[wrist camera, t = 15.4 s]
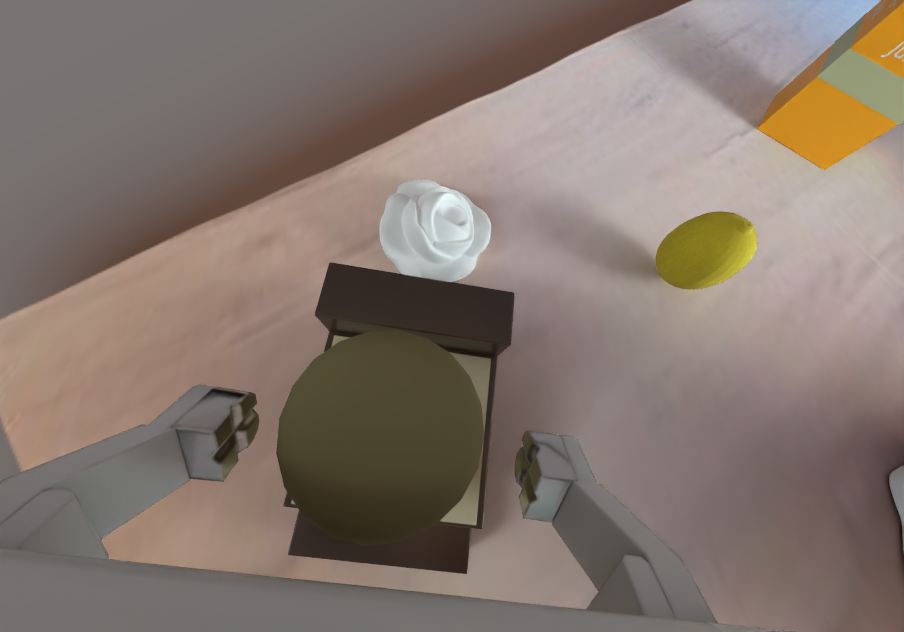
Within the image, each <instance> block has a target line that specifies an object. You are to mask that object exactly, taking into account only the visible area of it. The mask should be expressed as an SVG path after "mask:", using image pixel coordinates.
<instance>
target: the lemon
mask: <svg viewBox="0 0 904 632" xmlns="http://www.w3.org/2000/svg"><path fill="white" fill-rule="evenodd" d="M756 247H757V234H756V231H755V229H754V227H753V225H752V223H751V222H750V221H748V220H747V219H745V218H743V217H742V216H740V215H737V214H734V213H729V212H711V213H706V214H703V215H700V216H698V217H695V218H693V219H690V220H688V221H686V222H684V223H683V224H681V225H680V226H678V227H677V228H676V229H674V230H673V231H672V232H671V233H669V234H668V235H667V236H666V237H665V238H664V240H663V241H662V243H661V244H660V246H659V248H658V250H657V254H656V267H657V270H658V272H659V274H660V276H661V277H662V278H663V279H664V280H665V281H666V282H668V283H669V284H671V285H673V286H675V287H679V288H682V289H702V288H706V287H710V286H713V285H716V284H719V283H721V282H723V281H725V280H727V279H728V278H730V277H732V276H733V275H735V274H736V273H737V272H739V271H740V270H741V269H743V268H744V267H745V266H746V265H747V264H748V262H749V261H750V260H751V258H752V257H753V255H754V254H755V251H756Z"/></svg>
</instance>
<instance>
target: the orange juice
mask: <svg viewBox="0 0 904 632" xmlns="http://www.w3.org/2000/svg"><path fill="white" fill-rule="evenodd" d="M903 122H904V0H881V1H880V2H879V3H878V4H877V5H876V6H875V7H874V8H872V9H871V10H870V11H869V12H868V13H866V14H865V15H864V16H863V17H862V18H861V19H860V20H858V21H857V22H856V23H855V24H854V25H853V26H852V27H851V28H850V29H849V30H847V31H846V32H845V33H844V34H843V35H842V36H841V37H840V38H839V39H837V40H836V41H835V43H834V44H833V45H832V46H830V47H829V48H828V49H827V50H826V51H825V52H824V53H823V54H822V55H820V56H819V57H818V58H817V59H816V60H815V61H814V62H813V63H812V64H811V65H809V66H808V67H807V68H806V69H805V70H804V71H803V72H802V73H801V74H799V75H798V76H797V77H796V78H795V79H794V80H793V81H792V82H791V83H790V84H788V85H787V86H786V87H785V88H784V89H783V90H782V91H781V92H780V93H778V94H777V95H776V97H775V98H774V100H773V102H772V104H771V105H770V107H769V109H768V110H767V112H766V114H765V116H764V117H763V119H762V121H761V123H760V124H759V126H758V128H757V129H759V130H760V131H762V132H763V133H765V134H767V135H768V136H770V137H772V138H773V139H775V140H777V141H778V142H780V143H781V144H783V145H785V146H786V147H788V148H790V149H791V150H793V151H794V152H796V153H798V154H799V155H801V156H803V157H804V158H806V159H807V160H809V161H811V162H812V163H814V164H816V165H817V166H819V167H821V168H822V169H824V170H825V169H827V168H829V167H830V166H832V165H833V164H835V163H837V162H838V161H840V160H842V159H843V158H845V157H846V156H848V155H850V154H851V153H853V152H855V151H856V150H858V149H859V148H861V147H863V146H864V145H866V144H867V143H869V142H871V141H872V140H874V139H876V138H877V137H879V136H880V135H882V134H884V133H885V132H887V131H889V130H890V129H892V128H893V127H895V126H897V125H898V124H901V123H903Z"/></svg>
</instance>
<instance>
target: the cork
mask: <svg viewBox="0 0 904 632" xmlns="http://www.w3.org/2000/svg"><path fill="white" fill-rule="evenodd" d="M483 441H484V426H483V415H482V404H481V402H480V399H479V397H478V395H477V392H476V390H475V387H474V385H473V382H472V380H471V378H470V376H469V375H468V373H467V372H466V371H465V370H464V368H463V367H462V366H461V365H460V364H459V362H458V361H457V360H456V359H455V358H454V356H453V355H452V354H451V353H449V352H448V351H446V350H445V349H443V348H441V347H440V346H438V345H437V344H435V343H434V342H432V341H431V340H429V339H427V338H425V337H421V336H418V335H414V334H410V333H407V332H403V331H399V330H392V331H369V332H366V333H363V334H360V335H357V336H354V337H351V338H348V339H345V340H342V341H340V342H338V343H337V344H335V345H334V346H332V347H331V348H330V349H328V350H327V351H325V352H324V353H323V354H321V355H320V356H318V357H317V358H315V359H314V360H313V361H312V362H311V364H310V365H309V366H308V367H307V369H306V370H305V371H304V372H303V374H302V375H301V376H300V377H299V379H298V380H297V381H296V382H295V384H294V385H293V387H292V389H291V391H290V394H289V396H288V399H287V401H286V404H285V406H284V408H283V411H282V413H281V416H280V419H279V430H278V441H277V452H276V453H277V457H278V462H279V466H280V470H281V475H282V479H283V483H284V487H285V489H286V490H287V492H288V494H289V495H290V497H291V498H292V500H293V501H294V503H295V504H296V506H297V507H298V509H299V511H300V512H301V514H302V515H303V517H304V518H306V519H307V520H309V521H310V522H311V523H313V524H314V525H316V526H317V527H318V528H320V529H321V530H322V531H324V532H325V533H327V534H328V535H329V536H331V537H332V538H336V539H340V540H344V541H348V542H352V543H356V544H360V545H364V546H373V545H381V544H390V543H398V542H403V541H405V540H407V539H409V538H411V537H413V536H415V535H417V534H420V533H422V532H424V531H426V530H428V529H430V528H432V527H434V526H435V525H436V524H437V523H438V522H439V521H440V520H441V519H442V518H443V517H444V516H445V515H446V514H447V513H448V512H449V511H450V510H451V509H452V508H453V507H454V506H455V505H456V504H458V503H459V502H460V501H461V499H462V498H463V496H464V494H465V492H466V490H467V488H468V486H469V485H470V483H471V481H472V479H473V477H474V475H475V473H476V471H477V470H478V466H479V461H480V456H481V451H482V446H483Z"/></svg>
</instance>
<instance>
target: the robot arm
mask: <svg viewBox="0 0 904 632" xmlns="http://www.w3.org/2000/svg"><path fill="white" fill-rule="evenodd" d="M256 404H257V401H256V395H255V394H254V393H252V392H246V391H240V390H234V389H227V388H221V387H213V386H207V385H201V384H199V385H196V386H193V387H192V388H191V389H190V390H188V391H187V392H186V393H185V394H184V395H183V396H181V397H180V398H179V399H178V400H177V401H176V402H174V403H173V404H172V405H171V406H170V407H169V408H167V409H166V410H165V411H164V412H163V413H162V414H160V415H159V416H158V417H157V418H156V419H155V420H153V421H152V422H151V423H150V424H149V425H139V426H137V427H134V428H132V429H129V430H127V431H124V432H122V433H119V434H117V435H114V436H112V437H109V438H107V439H104V440H102V441H99V442H97V443H94V444H92V445H89V446H87V447H84V448H81V449H79V450H76V451H74V452H71V453H69V454H66V455H64V456H61V457H59V458H56V459H54V460H51V461H49V462H46V463H44V464H41V465H39V466H36V467H34V468H31V469H29V470H26V471H24V472H21V473H19V474H16V475H14V476H11V477H9V478H6V479H4V480H2V481H1V482H0V632H794V631H785V630H775V629H766V628H756V627H747V626H737V625H728V624H718V622H717V620H716V619H715V617H714V615H713V613H712V611H711V610H710V608H709V606H708V604H707V602H706V601H705V599H704V597H703V595H702V594H701V592H700V590H699V588H698V586H697V585H696V583H695V581H694V579H693V578H692V576H691V574H690V572H689V570H688V569H687V567H686V565H685V563H684V561H683V560H682V559H681V558H680V557H679V556H678V555H677V554H676V553H675V552H673V551H672V550H671V549H670V548H669V547H668V546H667V545H666V544H665V543H664V542H663V541H662V540H661V539H660V538H659V537H657V536H656V535H655V534H654V533H653V532H652V531H651V530H650V529H649V528H648V527H647V526H646V525H645V524H644V523H642V522H641V521H640V520H639V519H638V518H637V517H636V516H635V515H634V514H633V513H632V512H631V511H630V510H629V509H628V508H626V507H625V506H624V505H623V504H622V503H621V502H620V501H619V500H618V499H617V498H616V497H615V496H614V495H613V494H611V493H610V492H609V491H608V490H607V489H606V488H605V487H604V486H603V485H601V484H597V483H596V480H595V478H594V476H593V474H592V471H591V469H590V467H589V464H588V462H587V460H586V458H585V455H584V453H583V451H582V448H581V446H580V444H579V442H578V439H577V438H576V437H574V436H566V435H557V434H550V433H542V432H534V431H526V432H525V433H524V436H523V438H522V442H523V447H522V448H520V449H519V450H518V452H517V455H516V460H515V477H516V482H517V483H518V485H519V486H520V487H521V488H522V490H521V492H520V495H519V499H520V504H521V509H522V515H523V518H524V519H531V520H537V521H544V522H551V523H552V525H553V527H554V528H555V530H556V531H557V533H558V534H559V535H560V537H561V538H562V540H563V541H564V543H565V544H566V545H567V547H568V548H569V550H570V551H571V553H572V554H573V555H574V557H575V558H576V560H577V561H578V563H579V564H580V565H581V567H582V568H583V570H584V571H585V573H586V574H587V575H588V577H589V578H590V580H591V581H592V583H593V584H594V585H595V587H596V588H597V590H598V591H599V592H598V593H597V595H596V596H595V597H594V599H593V600H592V602H591V603H590V605H589V606H588V608H587V609H586V610H585V609H576V608H566V607H557V606H547V605H538V604H528V603H518V602H509V601H500V600H490V599H481V598H471V597H462V596H453V595H443V594H434V593H424V592H415V591H406V590H396V589H387V588H377V587H368V586H358V585H349V584H339V583H330V582H320V581H311V580H301V579H292V578H282V577H273V576H263V575H254V574H244V573H235V572H225V571H216V570H206V569H197V568H187V567H178V566H168V565H159V564H149V563H140V562H130V561H121V560H111V559H109V554H108V552H107V550H106V548H105V547H104V545H103V543H102V541H101V539H102V538H103V537H105V536H107V535H108V534H110V533H111V532H113V531H114V530H116V529H117V528H119V527H120V526H122V525H123V524H125V523H126V522H128V521H129V520H131V519H132V518H134V517H135V516H137V515H138V514H140V513H141V512H143V511H144V510H146V509H147V508H149V507H150V506H152V505H153V504H155V503H156V502H158V501H159V500H161V499H162V498H164V497H166V496H167V495H169V494H170V493H172V492H173V491H175V490H176V489H178V488H179V487H181V486H182V485H184V484H185V483H187V482H188V481H190V479H199V480H210V481H221V482H223V481H224V480H225V479H226V477H227V476H228V474H229V473H230V472H231V470H232V469H233V468H234V466H235V465H236V464H237V462H238V461H239V460H238V453H239V452H241V451H243V450H245V449H246V448H248V447H249V445H250V444H251V443H252V441H253V440H254V438H255V435H256V433H257V430H258V426H259V416H258V414H257V413H256V412H255V411H254V409H253V407H254V406H255V405H256ZM889 484H890V489H891V492H892V495H893V499H894V501H895V504H896V507H897V510H898V512H899V515H900V518H901V523H902V535H903V553H904V465H902V466H901V467H899V468H897V469H896V470H894V471H893V472H892V473H891V474H890V477H889Z"/></svg>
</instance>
